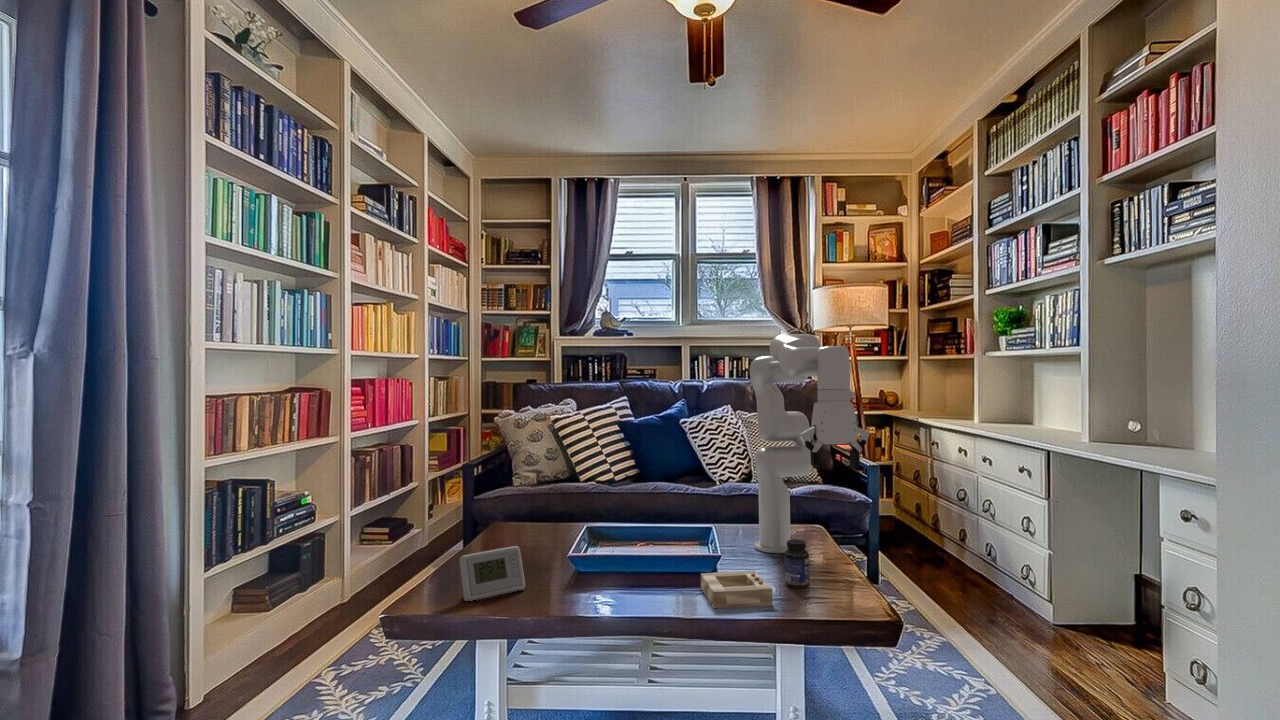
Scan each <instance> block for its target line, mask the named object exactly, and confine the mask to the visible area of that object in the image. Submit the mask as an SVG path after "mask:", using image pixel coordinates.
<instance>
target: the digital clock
mask: <svg viewBox="0 0 1280 720" xmlns="http://www.w3.org/2000/svg"><path fill="white" fill-rule="evenodd" d="M523 567H524V566H523V560H522V553H521V549H520V547H519V546H518V545H512V546H507V547H499V548H494V549H487V550H482V551H477V552H476V551H475V552H474V553H469V554H464V555H461V556H460V557H459V571H460V578H461V579H460V580H461V587H462V594H463V595H462V596H463V600H464V601H465V602H466V601H471V602H474V601H473V600H476V601H479V600H478V599H482V598H486V597H491V596H496V595H500V594H505V593H509V592H513V593H514V591H515V592H518V590H519V591H523V590H524V589H525V588H526V581H525V573H524V568H523Z"/></svg>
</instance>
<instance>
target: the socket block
mask: <svg viewBox="0 0 1280 720" xmlns="http://www.w3.org/2000/svg"><path fill="white" fill-rule="evenodd" d="M701 589H702V590H703V591H702V590H701ZM700 590H701V591H702V592H704V593H705V594H704V593H703V594H704V596H705V595H706V596H707V597H706V596H705V597H706V599H707V598H708V599H709V600H708V599H707V600H708V602H709V601H710V602H711V603H710V602H709V603H710V605H711V604H712V605H713V606H712V605H711V606H712V608H713V607H714V608H717V609H729V607H730V609H732V608H733V607H734V608H748V607H765V606H766V607H767V606H774V605H773V600H774V599H773V588H772V587H771V586H770V585H769V584H768V582H766V581H765V580H764V579H763V578H762V577H761V575H759V574H758V573H757V572H756V571H755V570H743V571H721V572H705V573H703V572H702V573H700ZM714 608H713V609H714ZM734 608H733V609H734Z"/></svg>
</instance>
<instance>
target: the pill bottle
mask: <svg viewBox="0 0 1280 720" xmlns="http://www.w3.org/2000/svg"><path fill="white" fill-rule="evenodd" d="M787 547H788V550H786V551H785V553H783V554H784V555H783V556H784V583H785V585H786V586H788V587H790V588H794V589H804V588H805V589H806V588H808V587H809V586H810V561H809V560H810V554H809V552H808V551H807V550H806V547H807V543H806V541H805V540H802V539H796V538H795V539H794V538H793V539H790V540H788V541H787Z"/></svg>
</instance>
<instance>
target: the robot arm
mask: <svg viewBox="0 0 1280 720" xmlns="http://www.w3.org/2000/svg"><path fill="white" fill-rule="evenodd" d="M769 352H770V354H771V355H765V356H764V355H762V356H759V357H756V358H754V359H753V360H752V361H751V363H750V366H749V376H750V383H751V387H752V388H753V391H754V395H755V399H756V412H757V413H756V414H757V429H758V430H757V431H758V435H759V437H760V439H761V440H762V441H764V442H767V443H779V442H781V443H784V442H786V443H787V442H790V443H791V442H792V445H779V446H778V445H774V446H763V447H762V448H759V449H758V450H757V451H756V453H755V455H754V464H755V470H756V475H757V487H758V527H759V529H758V530H759V533H758V534H759V535H758V537H759V539H758V541H755V543H754V548H755V549H756V550H757V551H760V552H763V553H769V554H785V551H786V550H788V547H787V541H788V540H791V501H790V499H791V498H790V497H791V496H790V489H789V487H788V486H787V485H786V484H785V482H784V481H783V480H782V478H786V477H787V478H789V477H790V478H791V477H806V476H808V475H809V474H810V472H811V471H812V468H813V469H816V470H820V469H821V453H820V452H819V450H820V449H821V447H823V445H848V446H849V447H850V450H849V465H850V467H852V468H855V469H859V465H860V462H861V461H860V460H861V459H860V452H861V451H862V449H863V447H865V445H866V444H867V441H868V440H869V437H870V435H871V434H870V432H869V431H867V430H865V429H863V428H861V427H859V426H857V417H856V411H855V407H854V404H853V402H851V400H852V398H855V397H856V393H855V392H854V391H852V390H851V383H850V382H851V381H850V378H851V377H850V374H851V373H850V351H849V349H848V348H847V347H846V346H843V345H828V346H827V345H826V346H821V343H820V340H819V339H818V337H816V336H815V335H814V334H811V333H785V334H784V333H783V334H779V335H777V336H775V337H774V338H773V339H772V340H771V341H770V344H769ZM809 377H816V378H817V380H816V381H817V384H816V385H817V402H814V403H813V409H812V415H811V424H810V422H809V420H808V417H807V416H806V415H805V413H803V412H801V411H798V410H797V411H795V410H793V411H792V410H791V411H786V410H785V399H784V395H783V393H782V391H781V390H780V389H779V387H778V386H776V384H799V383H804V382H805V381H807V379H808V378H809ZM810 425H811V426H810ZM858 435H860V439H858Z"/></svg>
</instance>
